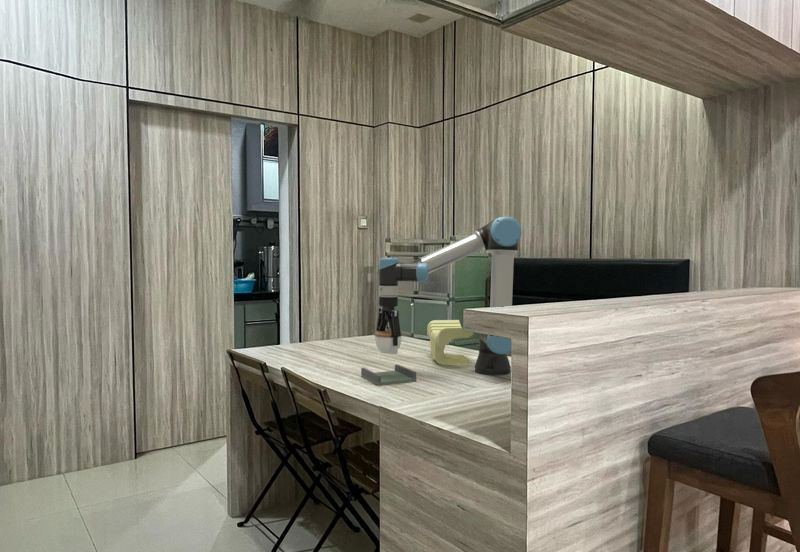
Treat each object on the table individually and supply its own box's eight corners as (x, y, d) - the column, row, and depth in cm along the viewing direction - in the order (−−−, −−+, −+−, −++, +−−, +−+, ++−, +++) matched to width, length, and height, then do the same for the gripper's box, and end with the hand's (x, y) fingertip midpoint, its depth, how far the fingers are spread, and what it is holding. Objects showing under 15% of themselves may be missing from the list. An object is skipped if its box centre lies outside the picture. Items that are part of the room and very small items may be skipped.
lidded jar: (371, 353, 208) (371, 329, 208) (379, 349, 219) (379, 326, 219) (398, 355, 206) (398, 330, 206) (404, 350, 216) (404, 327, 216)
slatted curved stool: (427, 356, 263) (427, 320, 262) (458, 355, 265) (458, 319, 264) (438, 368, 233) (438, 328, 233) (474, 367, 235) (474, 327, 235)
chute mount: (397, 373, 224) (397, 364, 224) (416, 381, 209) (416, 372, 209) (361, 376, 217) (361, 367, 217) (378, 385, 201) (378, 376, 201)
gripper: (368, 294, 220) (368, 347, 221) (392, 298, 200) (391, 357, 200) (384, 294, 224) (384, 346, 224) (410, 298, 203) (409, 355, 204)
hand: (388, 351), depth 212 cm, fingers closed on lidded jar, 11 cm apart
